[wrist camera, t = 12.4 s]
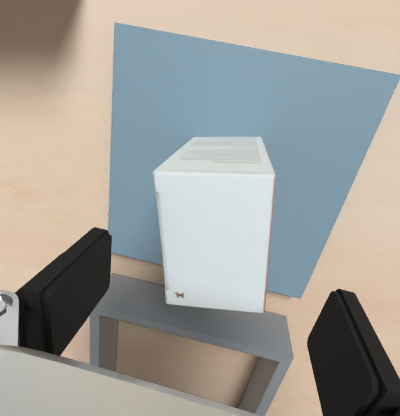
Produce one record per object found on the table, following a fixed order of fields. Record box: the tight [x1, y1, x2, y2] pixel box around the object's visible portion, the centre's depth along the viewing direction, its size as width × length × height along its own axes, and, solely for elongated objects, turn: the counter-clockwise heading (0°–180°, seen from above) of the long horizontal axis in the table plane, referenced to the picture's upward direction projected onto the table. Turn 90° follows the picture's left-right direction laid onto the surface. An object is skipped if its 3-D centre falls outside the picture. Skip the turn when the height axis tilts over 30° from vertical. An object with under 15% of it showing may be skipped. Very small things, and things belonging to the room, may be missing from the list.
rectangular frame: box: [90, 273, 294, 416], centre depth 32 cm, size 20×20×5 cm
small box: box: [153, 137, 276, 313], centre depth 18 cm, size 8×6×10 cm
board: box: [108, 23, 400, 299], centre depth 23 cm, size 20×20×2 cm
